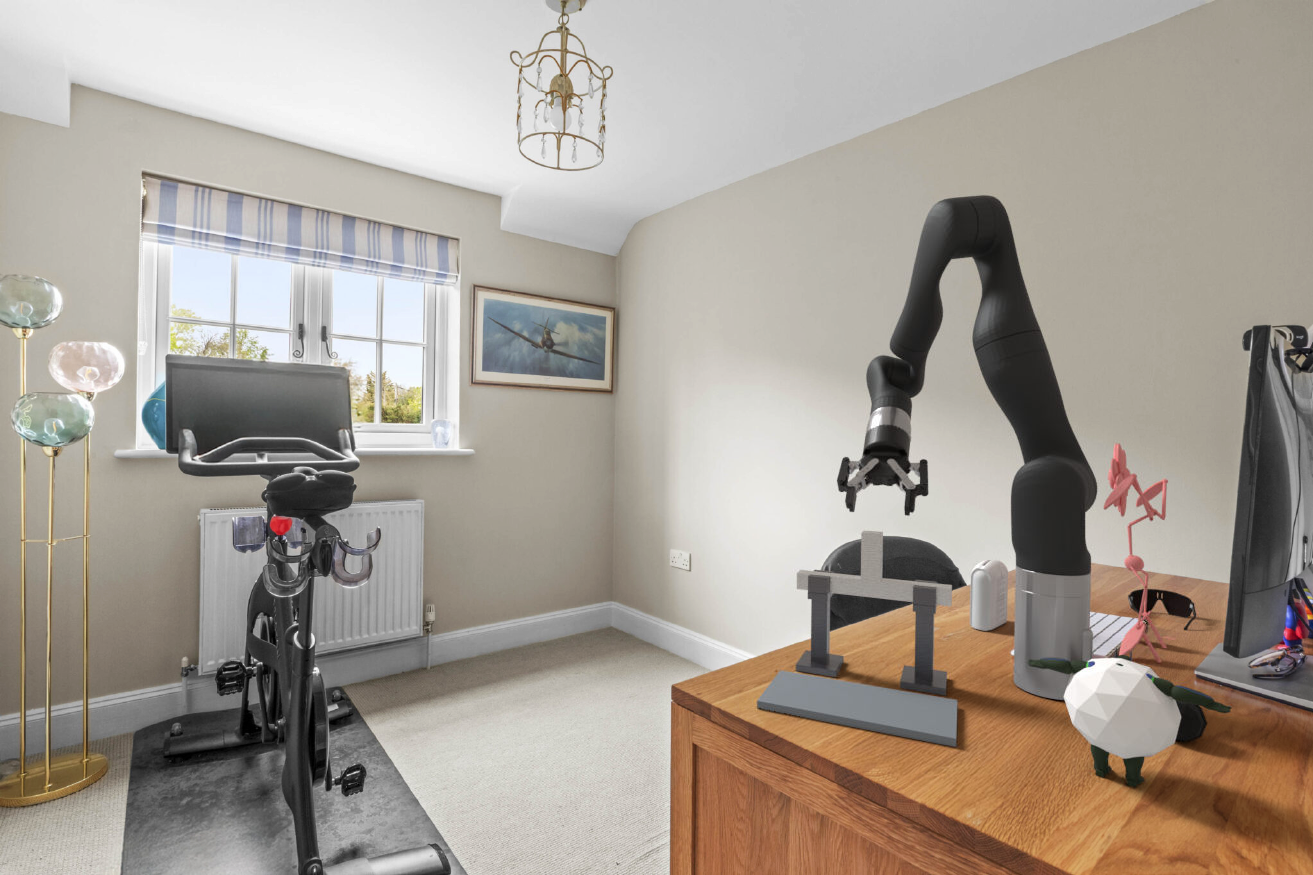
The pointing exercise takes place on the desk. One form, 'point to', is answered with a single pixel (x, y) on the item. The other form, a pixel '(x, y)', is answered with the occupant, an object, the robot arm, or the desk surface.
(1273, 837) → the desk surface
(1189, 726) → the microphone
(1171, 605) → the sunglasses
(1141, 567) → the figurine
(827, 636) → the hook stand
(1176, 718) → the figurine
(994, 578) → the photo printer
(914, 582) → the rail
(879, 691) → the mat
